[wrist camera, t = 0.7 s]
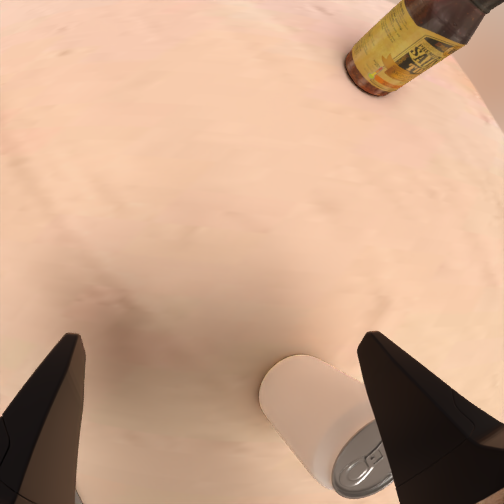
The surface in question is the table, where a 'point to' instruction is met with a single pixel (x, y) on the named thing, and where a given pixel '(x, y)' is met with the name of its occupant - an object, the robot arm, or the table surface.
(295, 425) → the can
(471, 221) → the table surface
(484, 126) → the table surface
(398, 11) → the sauce bottle
